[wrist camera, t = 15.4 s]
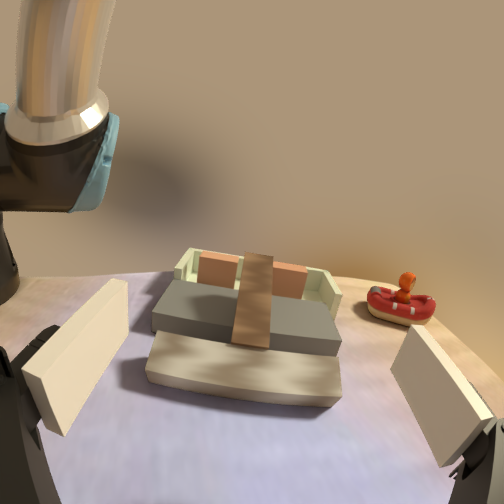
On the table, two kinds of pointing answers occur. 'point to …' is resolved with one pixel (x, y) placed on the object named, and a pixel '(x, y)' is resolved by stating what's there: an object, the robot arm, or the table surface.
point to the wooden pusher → (246, 355)
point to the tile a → (217, 269)
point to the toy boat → (401, 303)
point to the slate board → (223, 313)
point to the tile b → (288, 280)
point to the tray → (315, 288)
